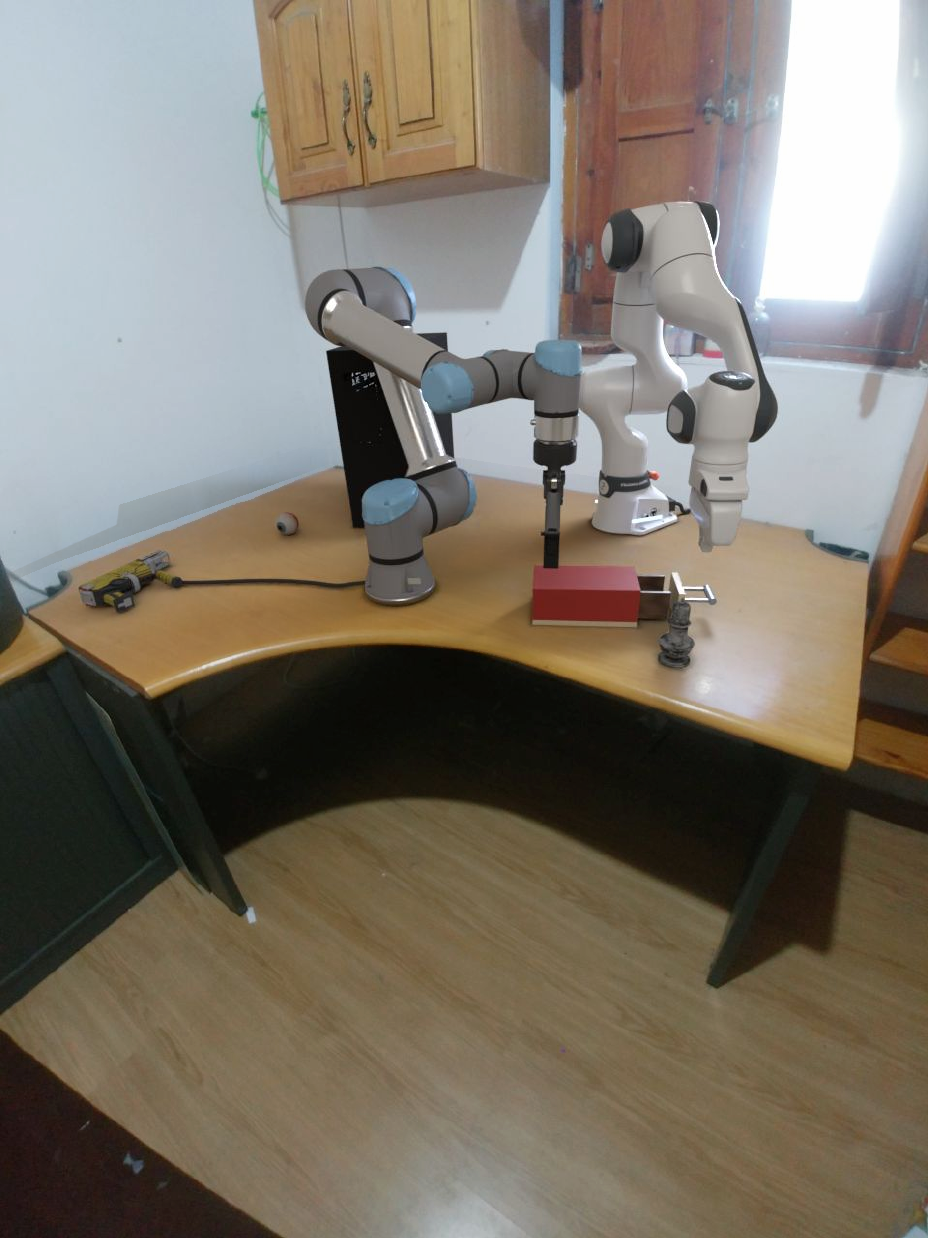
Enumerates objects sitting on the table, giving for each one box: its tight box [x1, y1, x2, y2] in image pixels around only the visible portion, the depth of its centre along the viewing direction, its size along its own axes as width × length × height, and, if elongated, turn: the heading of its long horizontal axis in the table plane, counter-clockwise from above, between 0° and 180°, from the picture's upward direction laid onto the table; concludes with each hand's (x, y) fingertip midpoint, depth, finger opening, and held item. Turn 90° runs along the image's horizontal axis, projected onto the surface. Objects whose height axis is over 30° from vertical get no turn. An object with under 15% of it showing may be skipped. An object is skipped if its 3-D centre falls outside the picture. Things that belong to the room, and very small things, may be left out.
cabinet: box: [531, 564, 641, 628], centre depth 118 cm, size 20×10×8 cm, turn 82°
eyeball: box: [275, 511, 300, 536], centre depth 163 cm, size 6×6×6 cm
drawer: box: [636, 571, 718, 620], centre depth 116 cm, size 25×9×6 cm, turn 82°
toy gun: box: [78, 549, 183, 614], centre depth 138 cm, size 5×24×15 cm
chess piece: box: [657, 598, 696, 668], centre depth 101 cm, size 6×6×12 cm
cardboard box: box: [325, 331, 455, 529], centre depth 169 cm, size 38×20×45 cm, turn 167°
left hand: (551, 552), depth 115 cm, fingers open, 13 cm apart
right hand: (704, 549), depth 110 cm, fingers closed
